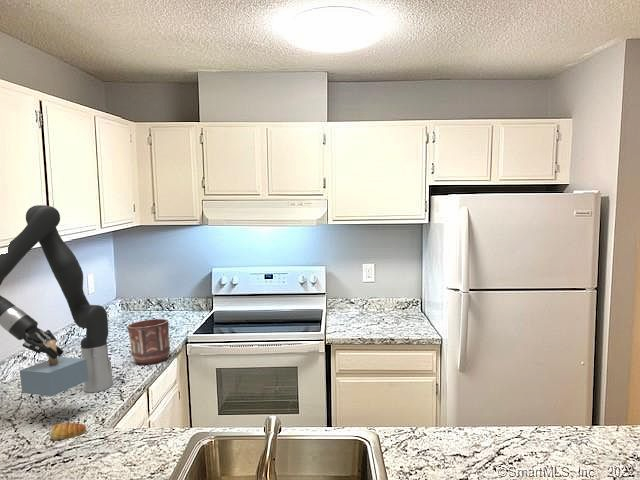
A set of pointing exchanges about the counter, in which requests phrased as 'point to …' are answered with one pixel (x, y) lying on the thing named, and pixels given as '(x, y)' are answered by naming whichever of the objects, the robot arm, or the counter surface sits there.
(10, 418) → the counter surface
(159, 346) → the pottery
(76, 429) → the pastry
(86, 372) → the cover
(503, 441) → the counter surface
